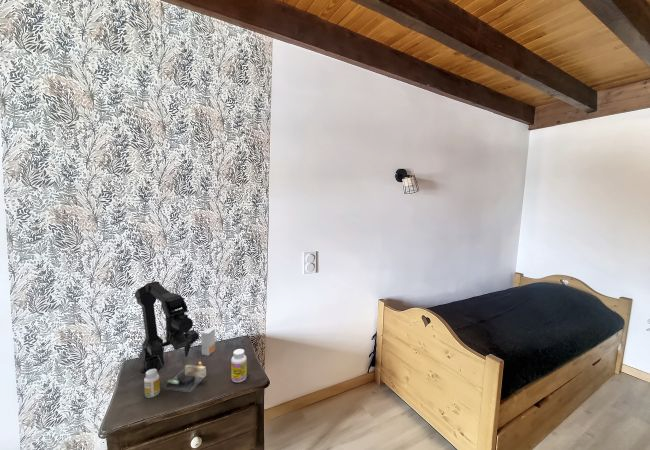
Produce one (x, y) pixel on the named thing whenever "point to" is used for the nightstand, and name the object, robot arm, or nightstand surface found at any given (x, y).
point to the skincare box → (208, 341)
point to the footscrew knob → (191, 373)
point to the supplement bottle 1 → (151, 383)
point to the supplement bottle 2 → (238, 366)
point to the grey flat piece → (186, 387)
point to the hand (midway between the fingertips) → (174, 360)
